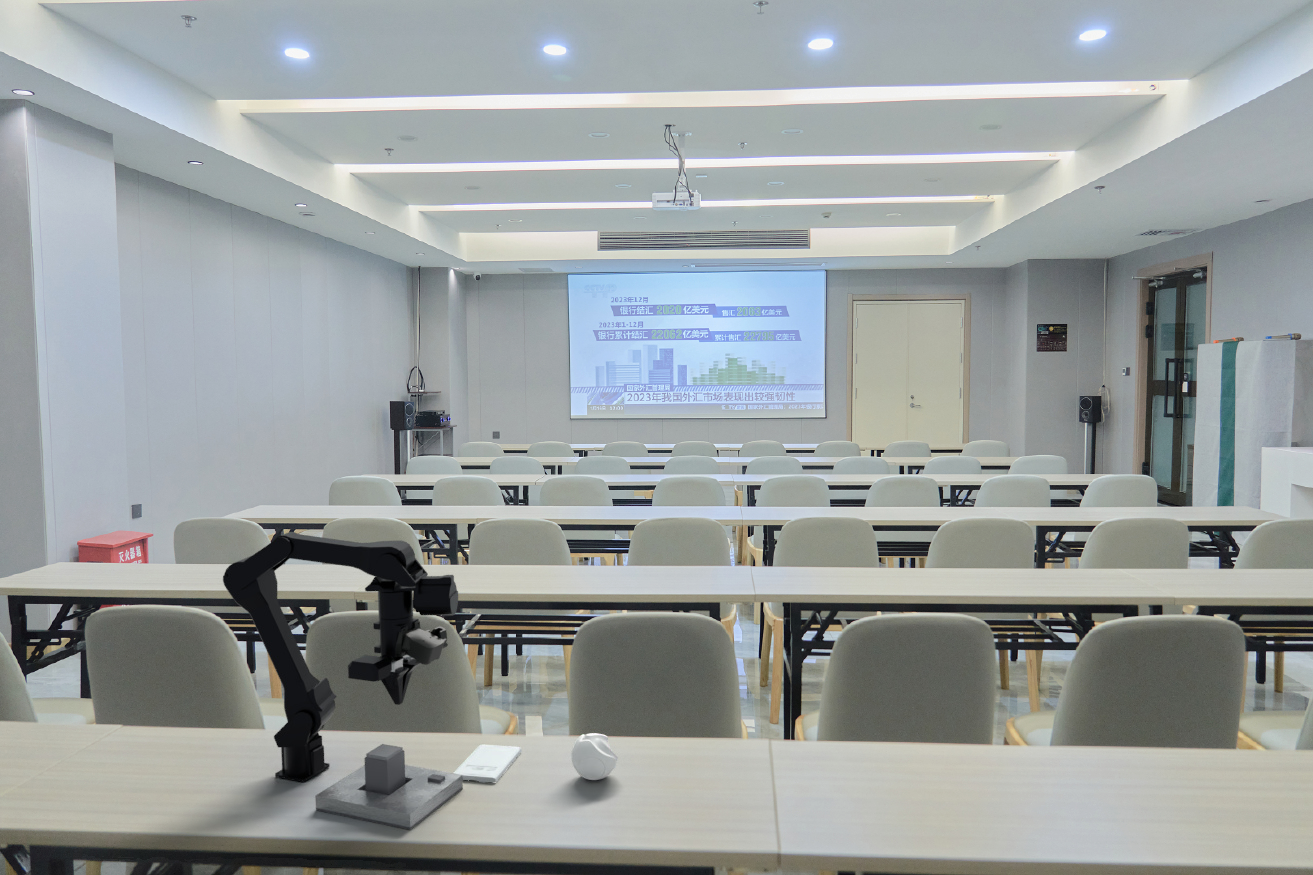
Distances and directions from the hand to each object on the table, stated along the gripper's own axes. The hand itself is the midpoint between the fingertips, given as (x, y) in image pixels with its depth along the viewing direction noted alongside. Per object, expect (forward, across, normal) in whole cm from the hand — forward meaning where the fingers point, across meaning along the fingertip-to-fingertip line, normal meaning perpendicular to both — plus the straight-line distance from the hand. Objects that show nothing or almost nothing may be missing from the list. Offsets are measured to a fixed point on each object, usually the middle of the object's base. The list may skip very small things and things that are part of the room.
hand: (398, 703), depth 149 cm
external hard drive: (+13, +7, -13) cm, 20 cm away
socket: (+12, -9, -5) cm, 16 cm away
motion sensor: (+12, +9, -33) cm, 36 cm away
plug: (+12, -9, -4) cm, 15 cm away
